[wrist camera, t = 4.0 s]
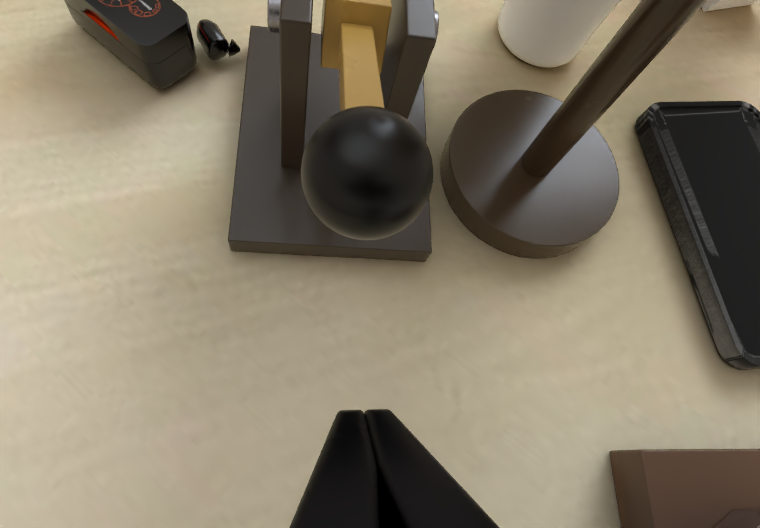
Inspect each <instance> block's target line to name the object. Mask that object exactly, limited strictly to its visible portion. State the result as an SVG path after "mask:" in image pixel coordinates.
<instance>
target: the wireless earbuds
mask: <svg viewBox="0 0 760 528" xmlns="http://www.w3.org/2000/svg"><path fill="white" fill-rule="evenodd" d="M65 3H66V5H67V7H68V9H69V11H70V13H71V15H72V17H73V19H74V20H75V21H76V23H77V24H78V25H80V26H81V27H82V28H83V29H84V30H86V31H87V32H88V33H89V34H90V35H92V36H93V37H94V38H95V39H96V40H98V41H99V42H100V43H101V44H102V45H104V46H105V47H106V48H107V49H108V50H110V51H111V52H112V53H113V54H114V55H116V56H117V57H118V58H119V59H120V60H122V61H123V62H124V63H125V64H126V65H128V66H129V67H130V68H131V69H132V70H134V71H135V72H136V73H137V74H138V75H140V76H141V77H142V78H143V79H144V80H146V81H147V82H148V83H149V84H150V85H152V86H154V87H155V88H158V89H165V88H167V87H169V86H171V85H172V84H173V83H175V82H176V81H178V80H179V79H180V78H182V77H183V76H185V75H186V74H187V73H189V72H190V71H192V70H193V69H194V68H195V66H196V64H197V56H196V52H195V47H194V43H193V38H192V33H191V29H190V24H189V19H188V15H187V13H186V12H185V11H184V10H183V9H182V8H181V7H180V6H178V5H177V4H176V3H175V2H173V1H172V0H65ZM197 37H198V40H199V42H200V43H201V45H202V47H203V48H204V50H205V52H206V53H207V55H208V57H209V58H210V59H211V60H219V59H221V58H223V57H224V56H225V55H226V54H227V53H228V51H229V57H230V56H233V55H235V54H237V53H238V52H240V48H239V46H238V45H237V44H236V42H235V41H234V40H233V39H232V40H231V43H230V45H229V43H228V42H227V40H226V39H225V37H224V35H223V34H222V32H221V30H220V29H219V27H218V26H217V24H215V23H213V22H212V21H210V20H207V19H204V20H200V21H199V23H198V25H197Z"/></svg>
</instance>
